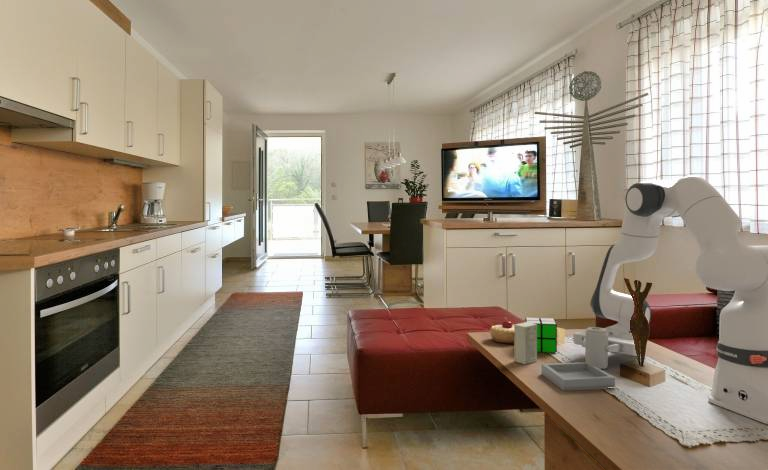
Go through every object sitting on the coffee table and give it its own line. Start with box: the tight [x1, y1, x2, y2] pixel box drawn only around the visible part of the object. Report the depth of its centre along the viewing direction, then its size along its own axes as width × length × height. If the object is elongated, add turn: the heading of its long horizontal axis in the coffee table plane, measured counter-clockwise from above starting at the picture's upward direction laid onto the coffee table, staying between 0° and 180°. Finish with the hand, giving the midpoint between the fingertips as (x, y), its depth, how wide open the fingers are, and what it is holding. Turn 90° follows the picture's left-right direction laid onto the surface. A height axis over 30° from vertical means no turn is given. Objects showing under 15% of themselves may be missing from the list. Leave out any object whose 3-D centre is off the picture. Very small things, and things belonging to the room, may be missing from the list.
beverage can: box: [584, 326, 609, 370], centre depth 155 cm, size 6×6×12 cm
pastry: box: [489, 316, 515, 344], centre depth 188 cm, size 12×12×9 cm
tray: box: [541, 361, 616, 392], centre depth 143 cm, size 14×14×3 cm
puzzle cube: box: [524, 317, 558, 354], centre depth 177 cm, size 10×10×10 cm
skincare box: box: [513, 321, 538, 365], centre depth 162 cm, size 6×4×12 cm
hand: (595, 346), depth 154 cm, fingers closed on beverage can, 6 cm apart
